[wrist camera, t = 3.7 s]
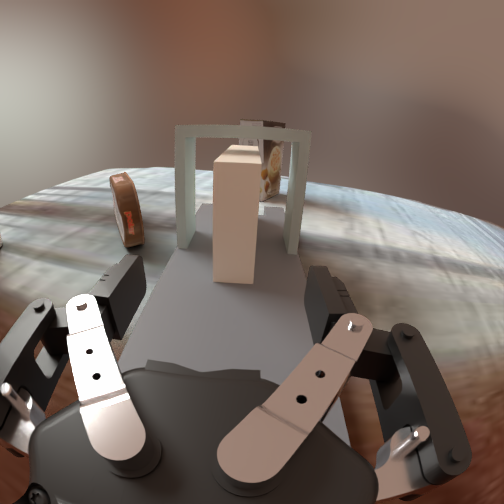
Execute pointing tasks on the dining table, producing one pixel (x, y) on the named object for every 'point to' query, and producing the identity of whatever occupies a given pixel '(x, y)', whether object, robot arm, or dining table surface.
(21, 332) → the robot arm
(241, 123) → the coffee box
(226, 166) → the block
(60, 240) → the dining table surface
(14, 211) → the dining table surface
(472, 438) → the dining table surface
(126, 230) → the tin
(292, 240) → the tunnel
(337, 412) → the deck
